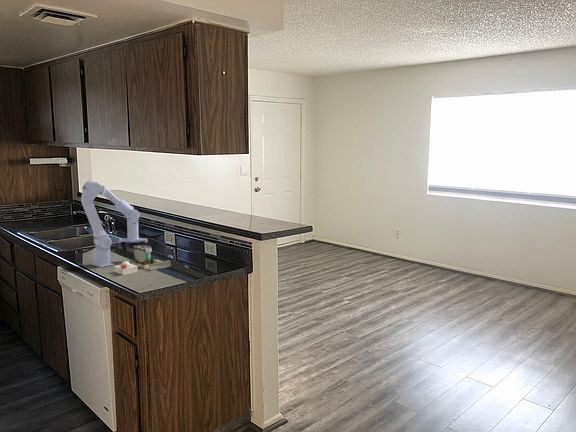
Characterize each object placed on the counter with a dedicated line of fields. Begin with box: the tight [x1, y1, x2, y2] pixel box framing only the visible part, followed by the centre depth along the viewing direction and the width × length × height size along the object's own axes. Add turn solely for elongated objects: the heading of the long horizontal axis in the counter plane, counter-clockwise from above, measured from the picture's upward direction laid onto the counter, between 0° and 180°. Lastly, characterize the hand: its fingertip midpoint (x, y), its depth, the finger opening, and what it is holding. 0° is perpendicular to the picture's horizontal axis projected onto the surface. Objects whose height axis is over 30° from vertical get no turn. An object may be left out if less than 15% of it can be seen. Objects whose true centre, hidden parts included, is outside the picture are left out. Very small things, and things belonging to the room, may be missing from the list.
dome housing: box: [113, 263, 139, 276], centre depth 238 cm, size 8×8×5 cm
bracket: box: [134, 259, 172, 271], centre depth 251 cm, size 14×12×3 cm
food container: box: [133, 244, 153, 266], centre depth 252 cm, size 12×6×10 cm, turn 48°
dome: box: [120, 260, 132, 268], centre depth 238 cm, size 5×5×5 cm
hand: (133, 255), depth 261 cm, fingers open, 7 cm apart
